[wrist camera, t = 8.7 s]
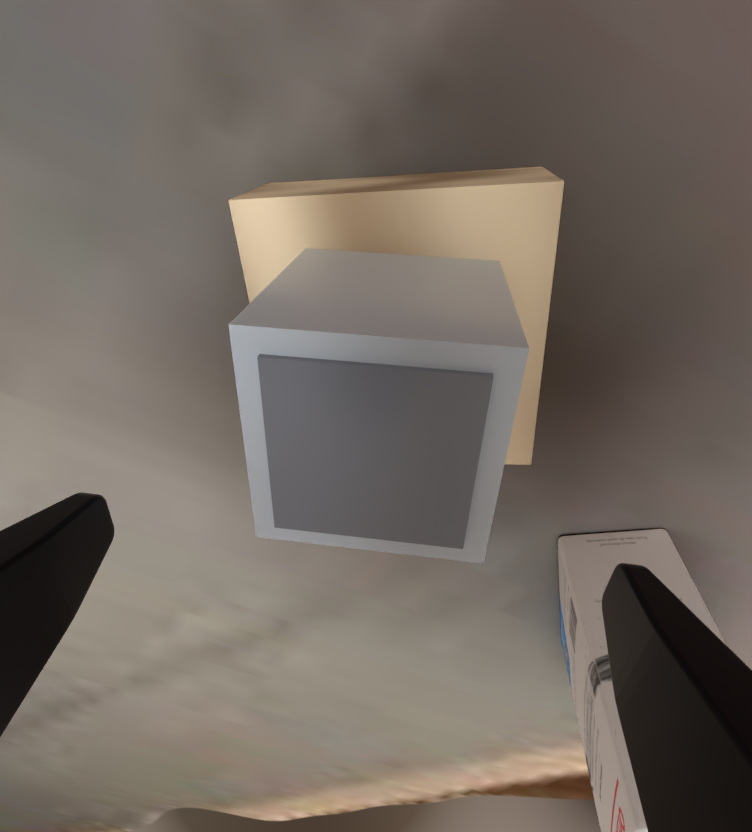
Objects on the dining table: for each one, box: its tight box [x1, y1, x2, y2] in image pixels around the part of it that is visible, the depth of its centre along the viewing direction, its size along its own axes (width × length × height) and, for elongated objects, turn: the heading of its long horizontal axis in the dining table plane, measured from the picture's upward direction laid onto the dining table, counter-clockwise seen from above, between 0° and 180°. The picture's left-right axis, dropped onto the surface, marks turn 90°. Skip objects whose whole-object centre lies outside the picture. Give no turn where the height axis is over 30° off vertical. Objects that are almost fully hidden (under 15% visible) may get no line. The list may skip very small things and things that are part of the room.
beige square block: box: [229, 167, 564, 465], centre depth 17 cm, size 9×9×4 cm
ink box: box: [558, 529, 727, 832], centre depth 19 cm, size 8×5×15 cm, turn 12°
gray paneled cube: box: [228, 248, 529, 564], centre depth 13 cm, size 6×6×6 cm
